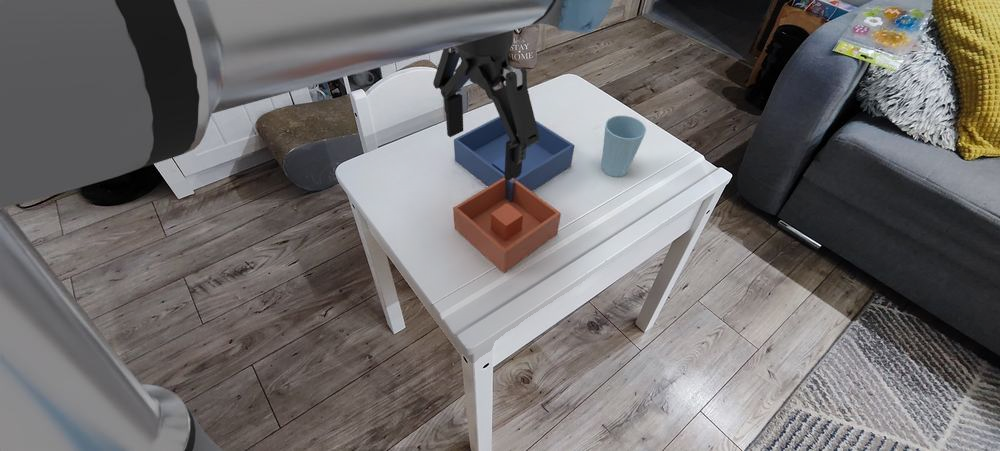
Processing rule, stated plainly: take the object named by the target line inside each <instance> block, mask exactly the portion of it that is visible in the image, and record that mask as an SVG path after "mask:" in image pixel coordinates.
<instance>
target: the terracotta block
mask: <svg viewBox="0 0 1000 451" xmlns="http://www.w3.org/2000/svg"><path fill="white" fill-rule="evenodd" d="M522 221H523V215H522V214H521V213H520V212H519V211H517V210H516V209H515V208H513V207H512V206H511V205H510V204H508V203H507V204H505V205H503V206H502V207H500V208H499V209H497V210H495V211H494V212H492V213H491V229H492V230H493V231H494V232H495V233H497V234H498V235H499V236H500V237H501V238H503V239H504V240H505V241H506V240H508V239H509V238H511V237H512V236H514V235H515V234H517V233H518V232H520V231H521V230H522Z"/></svg>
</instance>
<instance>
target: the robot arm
mask: <svg viewBox="0 0 1000 451" xmlns="http://www.w3.org/2000/svg"><path fill="white" fill-rule="evenodd" d="M613 2H614V0H0V451H224V450H223V449H222V448H221V447H220V446H219V445H218V444H216V443H215V442H214V440H213V439H212V438H211V437H210V436H209V435H208V434H207V432H205V430H204V429H203V428H202V426H201V425H200V423H199V422H198V420H197V419H196V418H195V416H194V414H193V413H192V412H191V410H190V409H189V407H187V405H186V404H185V402H184V400H183V399H182V398H181V397H180V396H178V395H177V394H176V393H175V392H173V391H172V390H170V389H168V388H165V387H163V386H160V385H155V384H145V383H141V382H140V381H139V380H138V378H137V377H136V375H134V373H133V372H132V370H131V369H130V368H129V367H128V365H127V364H126V363H125V361H124V360H123V359H122V358H121V356H120V355H119V354H118V352H117V351H116V350H115V349H114V347H113V346H112V345H111V344H110V342H109V341H108V339H107V338H106V337H105V335H103V333H102V332H101V330H100V329H99V328H98V327H97V325H96V324H95V322H94V321H93V320H92V319H91V318H90V316H89V315H88V314H87V312H86V311H85V310H84V308H83V307H82V306H81V305H80V303H79V302H78V301H77V300H76V298H75V297H74V296H73V294H72V293H71V291H69V289H68V288H67V286H66V285H65V284H64V283H63V281H62V279H60V278H59V276H58V275H57V273H56V272H55V271H54V270H53V268H52V267H51V265H50V264H49V263H48V262H47V261H46V259H45V258H44V257H43V256H42V254H41V253H40V251H39V250H38V249H37V248H36V246H35V245H34V244H33V242H32V241H31V240H30V239H29V238H28V236H27V235H26V234H25V232H24V231H23V229H22V228H21V227H20V226H19V224H18V223H17V222H16V220H15V218H13V216H12V215H11V214H10V213H9V211H8V210H7V209H6V208H8V207H12V206H17V205H20V204H24V203H29V202H31V201H35V200H36V201H37V200H39V199H43V198H48V197H52V196H55V195H59V194H63V193H66V192H69V191H73V190H76V189H80V188H83V187H87V186H90V185H93V184H96V183H101V182H103V181H107V180H110V179H114V178H117V177H119V176H122V175H125V174H128V173H131V172H134V171H136V170H139V169H142V168H145V167H148V166H151V165H155V164H158V163H160V162H164V161H167V160H170V159H173V158H176V157H179V156H182V155H185V154H187V153H189V152H191V151H194V150H195V149H196V148H197V147H198V146H199V145H200V144H201V143H202V140H203V138H204V137H205V134H206V132H207V129H208V126H209V124H210V120H211V117H212V114H216V113H219V112H223V111H227V110H229V109H233V108H238V107H241V106H244V105H249V104H252V103H255V102H260V101H263V100H266V99H270V98H273V97H277V96H281V95H284V94H288V93H291V92H295V91H298V90H299V91H300V90H302V89H307V88H309V87H314V86H316V85H320V84H324V83H328V82H331V81H335V80H339V79H341V78H342V79H343V78H345V77H346V78H347V77H349V76H353V75H357V74H359V73H364V72H367V71H371V70H375V69H379V68H381V67H382V68H383V67H385V66H388V65H392V64H396V63H400V62H404V61H406V60H407V61H408V60H410V59H414V58H418V57H421V56H425V55H429V54H432V53H436V52H439V51H440V52H441V51H442V54H441V56H440V59H439V62H438V65H437V69H436V72H435V75H434V79H433V81H432V82H433V83H432V84H433V87H434V88H435V89H436V90H437V89H439V90H440V94H441V96H442V98H443V104H444V113H445V122H446V134H447V136H448V137H449V138H452V137H454V136H456V135H458V134H460V133H463V132H464V106H463V95H462V94H461V93H459V92H461V91H462V88H463V87H464V86H465V85H466V83H467V82H468V81H469V82H470V83H472V84H475V85H477V86H478V87H479V88H481V89H482V90H483V91H484V92H485V95H486V97H487V98H488V99H489V100H492V102H493V104H494V108H495V109H496V112H497V114H498V117H499V116H500V118H501V120H502V123H503V125H504V127H505V130H506V132H507V134H508V136H509V139H510V140H509V141H507V142H506V155H505V176H504V179H506V180H507V181H509V180H510V179H512V178H514V177H516V176H517V175H519V174H521V171H522V161H524V160H525V158H526V148H528V147H530V146H531V145H533V144H535V143H537V142H539V141H540V137H539V133H538V129H537V125H536V121H537V120H536V117H535V113H534V110H533V104H532V100H531V98H530V94H529V88H528V73H527V72H528V71H527V69H526V68H525V67H524V66H521V67H518V68H515V67H512V66H510V63H509V60H508V54H509V52H510V50H511V47H512V46H513V43H514V30H519V29H523V28H526V27H531V26H532V27H533V26H536V25H540V24H541V25H547V26H551V27H554V28H557V30H558V31H568V32H573V33H579V34H590V33H592V32H593V31H595V30H596V29H597V28H598V27H599V26H600V25H601V24H602V23H603V21H604V20H605V18H606V16H607V15H608V13H609V11H610V9H611V7H612V4H613ZM460 60H461V62H460V64H459V65H458V63H459V61H460ZM500 84H501V85H502V87H500V88H498V89H495V88H496V87H498V86H499V85H500ZM517 133H518V135H517Z"/></svg>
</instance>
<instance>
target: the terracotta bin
mask: <svg viewBox="0 0 1000 451" xmlns="http://www.w3.org/2000/svg"><path fill="white" fill-rule="evenodd" d="M511 180H515V179H514V178H512V179H511ZM505 197H506V179H504V178H502V179H500V180H499V181H497V182H495V183H494V184H492V185H490V186H489V187H488V186H487V187H485V188H483V189H481V190H480V191H478V192H477V193H475V194H473V195H472V196H470V197H468V198H466V200H463V201H462V202H459V204H456V205H455V206H454V207H452V210H453V212H452V213H453V225H454V230H455V231H456V232H457V233H458V234H459V235H461V236H462V237H463V238H464V239H465V240H466V241H467V242H469V243H470V244H471V245H472V246H473V247H474V248H475V249H476V250H478V251H479V252H480V253H481V254H482V255H483V256H484V257H485V258H486V259H488V261H490V262H491V263H492V264H493V265H494V266H495V267H496V268H497V269H498V270H500V271H501V272H502V273H503V274H505V273H506V272H508V270H510V269H511V268H513V267H514V266H516V265H517V264H519V262H521V261H522V260H524V259H525V258H527V257H528V256H530V255H531V254H532V253H534V252H535V251H537V249H539V248H540V247H542V246H543V245H544V244H546V243H547V242H549V241H550V240H551V239H553V238H554V237H556V236H557V235H558V232H559V227H560V223H561V222H560V221H561V215H562V213H561V212H560V211H559V210H557V209H556V208H555V207H553V206H552V205H551V204H550V203H548V202H546V201H545V200H544V199H542V198H541V197H540V196H538V195H537V194H536V193H535V192H533V191H530V190H529V189H528V188H526V187H525V186H524V185H522V184H521V183H520V182H518V181H517V180H516V181H515V182H514V197H513V202H510V201H509V200H507V199H506V198H505ZM507 203H508V204H510V205H511V206H512V207H513V208H515V209H516V210H517V211H519V212H520V213H521V214H522V215H523V221H522V230H521V231H520V232H518V233H517V234H515V235H514V236H512V237H511V238H509V239H508V240H506V241H505V240H504V239H503V238H501V237H500V236H499V235H498V234H497V233H495V232H494V231H493V230H492V229H491V213H492V212H494V211H495V210H497V209H499V208H500V207H502V206H503V205H505V204H507Z"/></svg>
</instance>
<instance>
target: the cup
mask: <svg viewBox="0 0 1000 451" xmlns="http://www.w3.org/2000/svg"><path fill="white" fill-rule="evenodd" d="M604 126H605V127H604V135H603V145H602V146H603V147H602V156H601V164H600V166H601V170H602V171H603V173H605V174H606V175H607V176H610V177H614V178H619V177H623V176H626V175H627V173H628V171H629V169H630V168H631V167H632V166H631V165H632V164H633V161H634V159H635V157H636V155H637V153H638V150H639V148H640V146H641V144H642V141H643V140H644V138H645V135H646V133H647V126H646V125H645V124H644V123H643V121H641V120H640V119H637V118H636V117H633V116H629V115H615V116H612V117H610V118H608V119H607V120H606V121H605V125H604Z"/></svg>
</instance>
